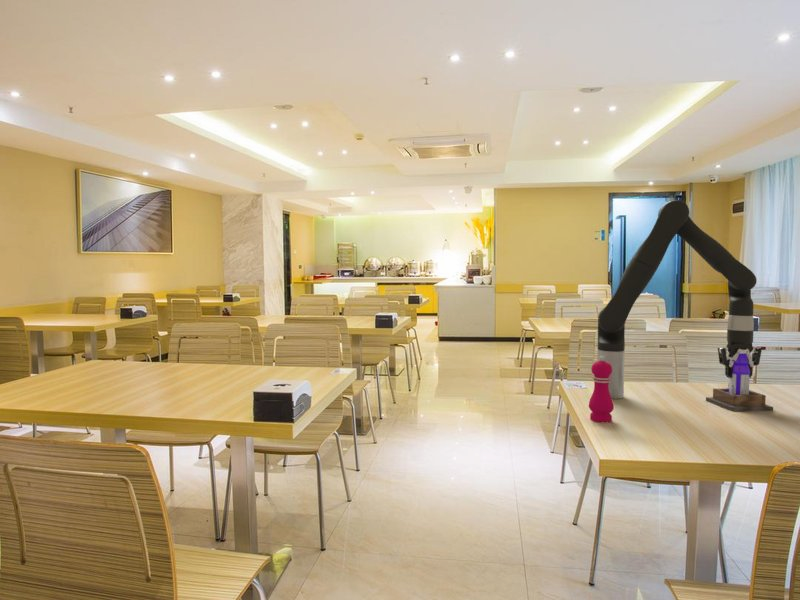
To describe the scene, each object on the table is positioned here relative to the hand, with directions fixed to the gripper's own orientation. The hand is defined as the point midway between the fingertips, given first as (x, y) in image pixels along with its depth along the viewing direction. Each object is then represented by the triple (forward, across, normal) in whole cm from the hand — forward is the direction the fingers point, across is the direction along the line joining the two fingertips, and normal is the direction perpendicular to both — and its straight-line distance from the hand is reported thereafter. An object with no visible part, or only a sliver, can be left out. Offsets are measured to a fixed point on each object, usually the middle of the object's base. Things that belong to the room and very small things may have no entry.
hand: (738, 377), depth 180 cm
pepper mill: (+10, -54, -16) cm, 57 cm away
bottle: (+8, 0, 0) cm, 8 cm away
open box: (+10, 0, 0) cm, 10 cm away
